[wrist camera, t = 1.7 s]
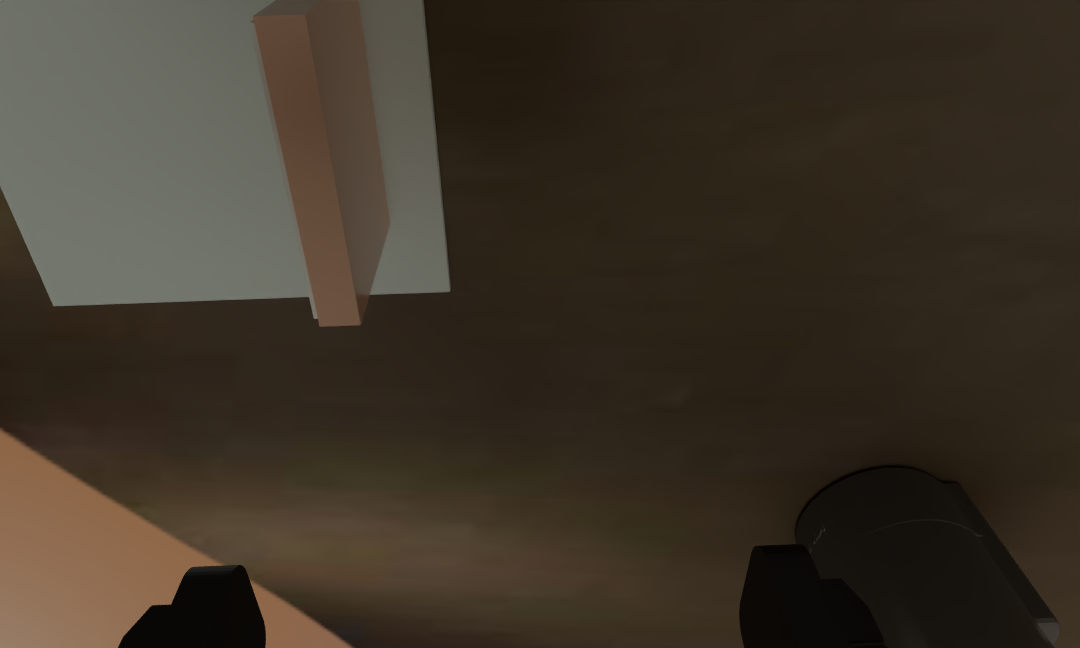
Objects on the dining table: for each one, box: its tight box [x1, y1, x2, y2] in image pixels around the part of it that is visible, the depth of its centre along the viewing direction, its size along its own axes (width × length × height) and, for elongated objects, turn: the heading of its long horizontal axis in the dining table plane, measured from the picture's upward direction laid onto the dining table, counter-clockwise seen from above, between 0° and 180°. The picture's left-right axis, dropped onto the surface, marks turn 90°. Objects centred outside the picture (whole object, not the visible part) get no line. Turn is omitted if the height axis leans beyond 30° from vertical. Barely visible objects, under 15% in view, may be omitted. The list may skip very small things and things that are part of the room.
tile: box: [249, 0, 390, 327], centre depth 26 cm, size 2×10×8 cm, turn 1°
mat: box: [0, 0, 451, 306], centre depth 29 cm, size 18×17×1 cm
